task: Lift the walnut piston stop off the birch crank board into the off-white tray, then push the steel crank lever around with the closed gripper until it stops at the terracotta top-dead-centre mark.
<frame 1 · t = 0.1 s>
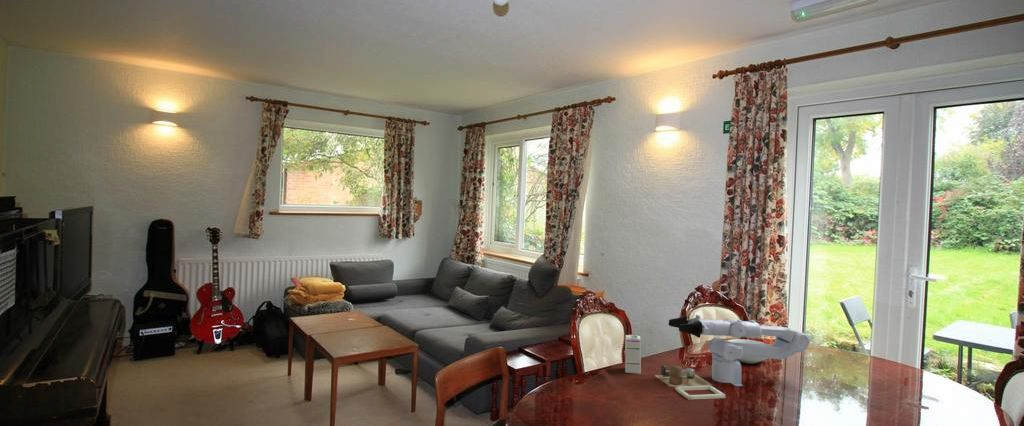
hand: (674, 325, 178), 22 cm above the table, tool horizontal, fingers open, 7 cm apart
tray: (699, 398, 166), on the table
piston stop: (675, 383, 176), point 1 cm above the table, touching crank board
cereal bowl: (747, 361, 210), on the table
crank board: (682, 384, 179), on the table
syrup box: (632, 375, 189), on the table
crank lever: (677, 370, 181), point 4 cm above the table, hinge at 0.0°
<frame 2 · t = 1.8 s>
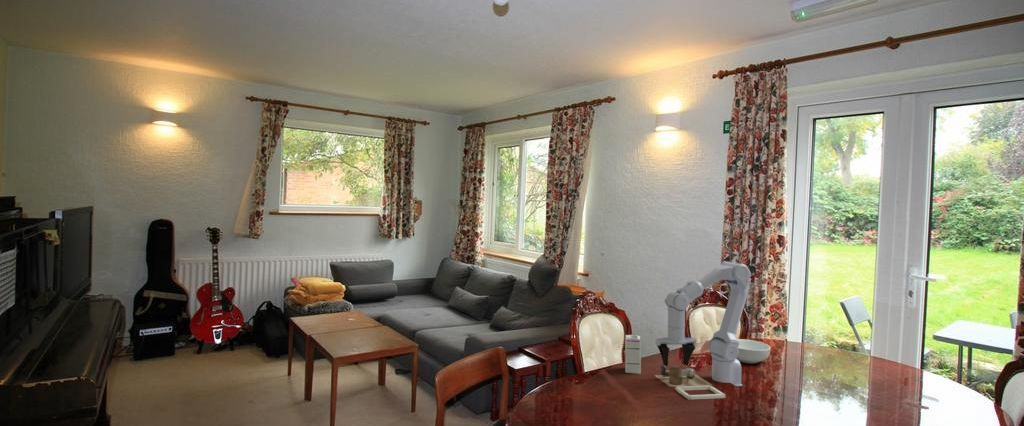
hand: (675, 364, 176), 8 cm above the table, tool pointing down, fingers open, 7 cm apart
nothing on the table moved.
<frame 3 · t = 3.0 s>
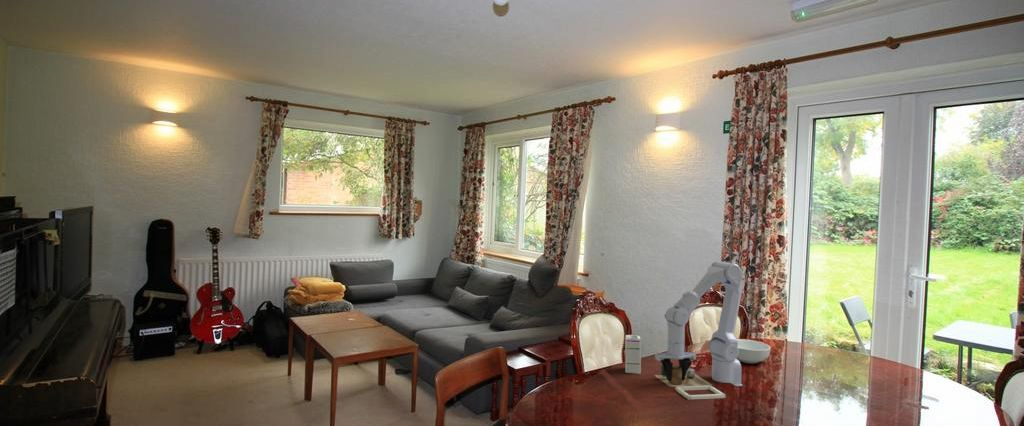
hand: (675, 379, 176), 3 cm above the table, tool pointing down, fingers closed on piston stop, 4 cm apart
piston stop: (675, 382, 176), point 2 cm above the table, touching crank board, gripper
everything else where it was.
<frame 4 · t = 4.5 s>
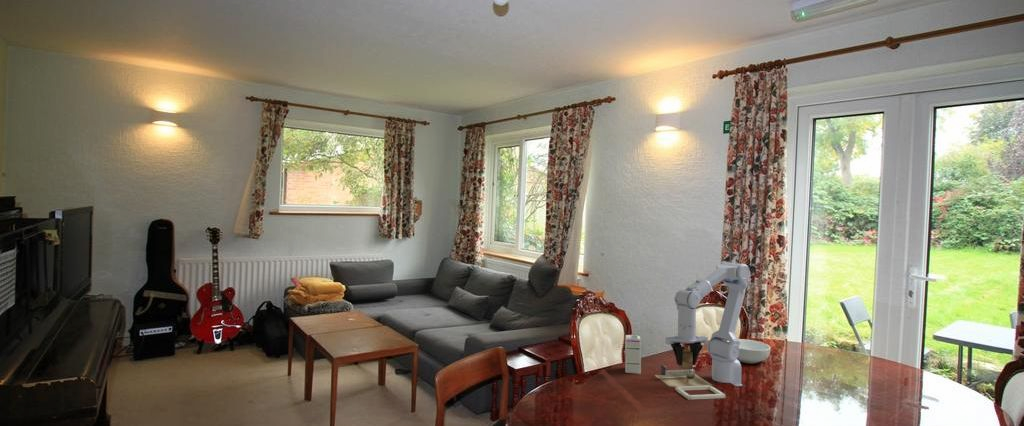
hand: (686, 364, 172), 10 cm above the table, tool pointing down, fingers closed on piston stop, 4 cm apart
piston stop: (685, 367, 172), point 8 cm above the table, touching gripper
everything else where it was.
when the fingers open (3 cm above the table, at t = 6.5 s): piston stop drops 1 cm, resting on tray.
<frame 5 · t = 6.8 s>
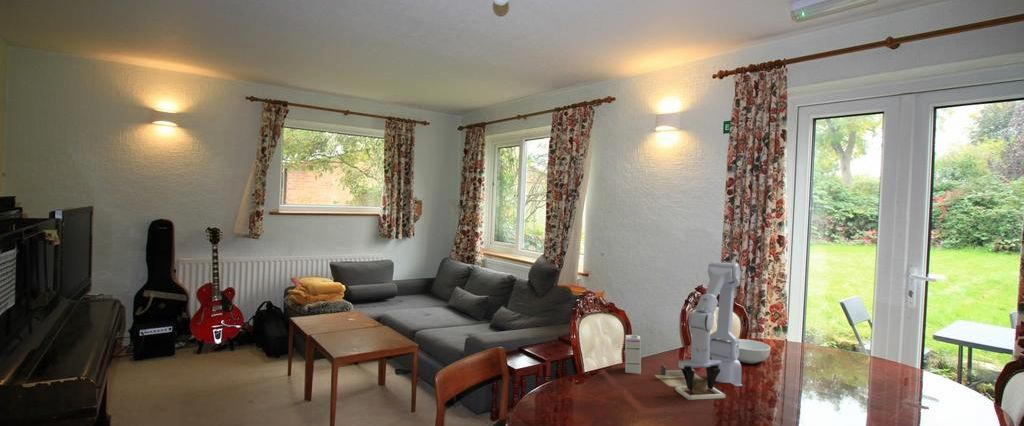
hand: (699, 388, 166), 3 cm above the table, tool pointing down, fingers open, 7 cm apart
piston stop: (699, 396, 166), point 1 cm above the table, touching tray
everything else where it was.
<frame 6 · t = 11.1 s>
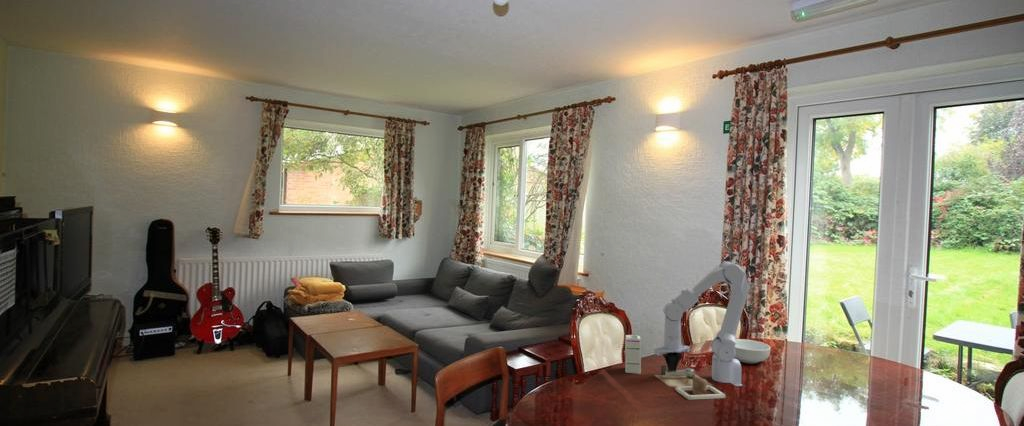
hand: (671, 372, 183), 3 cm above the table, tool pointing down, fingers closed, pressing on crank lever
crank lever: (677, 370, 181), point 4 cm above the table, hinge at 0.0°, touching gripper
everything else where it was.
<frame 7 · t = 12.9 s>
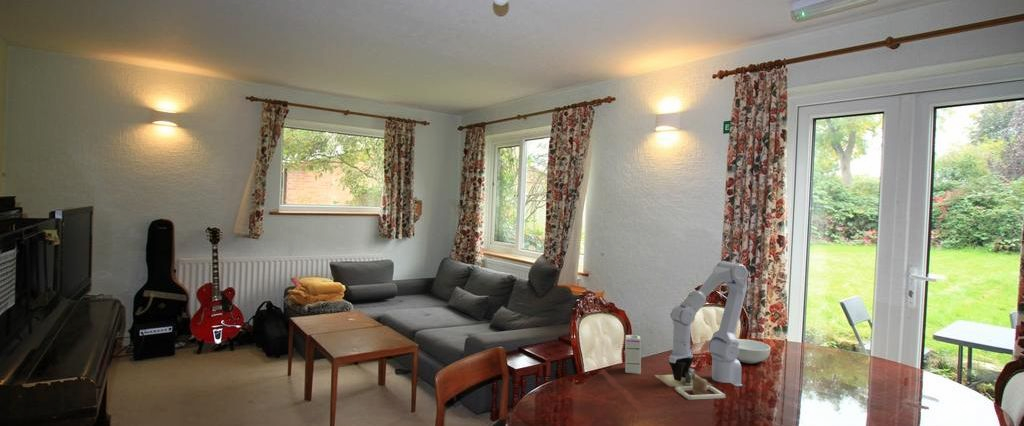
hand: (680, 378, 176), 3 cm above the table, tool pointing down, fingers open, 4 cm apart
crank lever: (689, 374, 178), point 4 cm above the table, hinge at 57.5°, touching gripper
everything else where it was.
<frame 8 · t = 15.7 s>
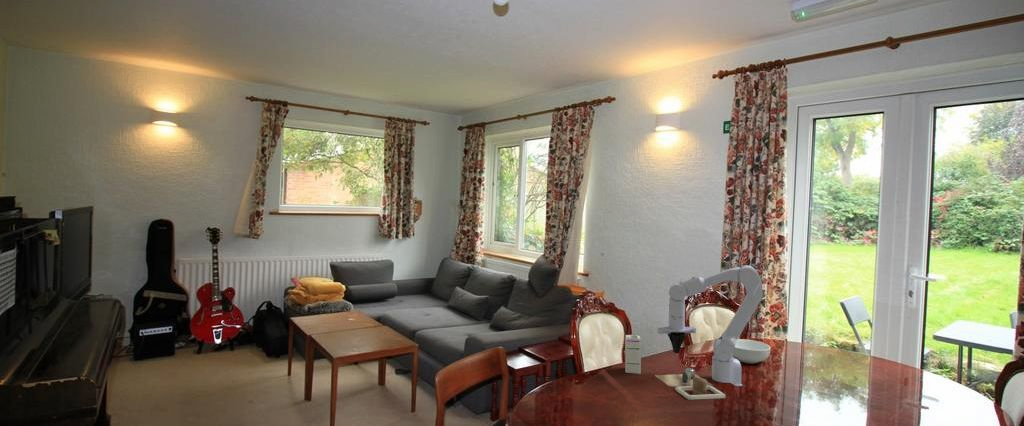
hand: (676, 352, 187), 9 cm above the table, tool pointing down, fingers closed
crank lever: (687, 374, 178), point 4 cm above the table, hinge at 52.0°
everything else where it was.
at the end: piston stop inside the target area on the tray (0.1 cm from its centre), point 0.5 cm above the tray's base; crank lever at +52° (first picture: +0°); piston stop tilted 1° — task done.
